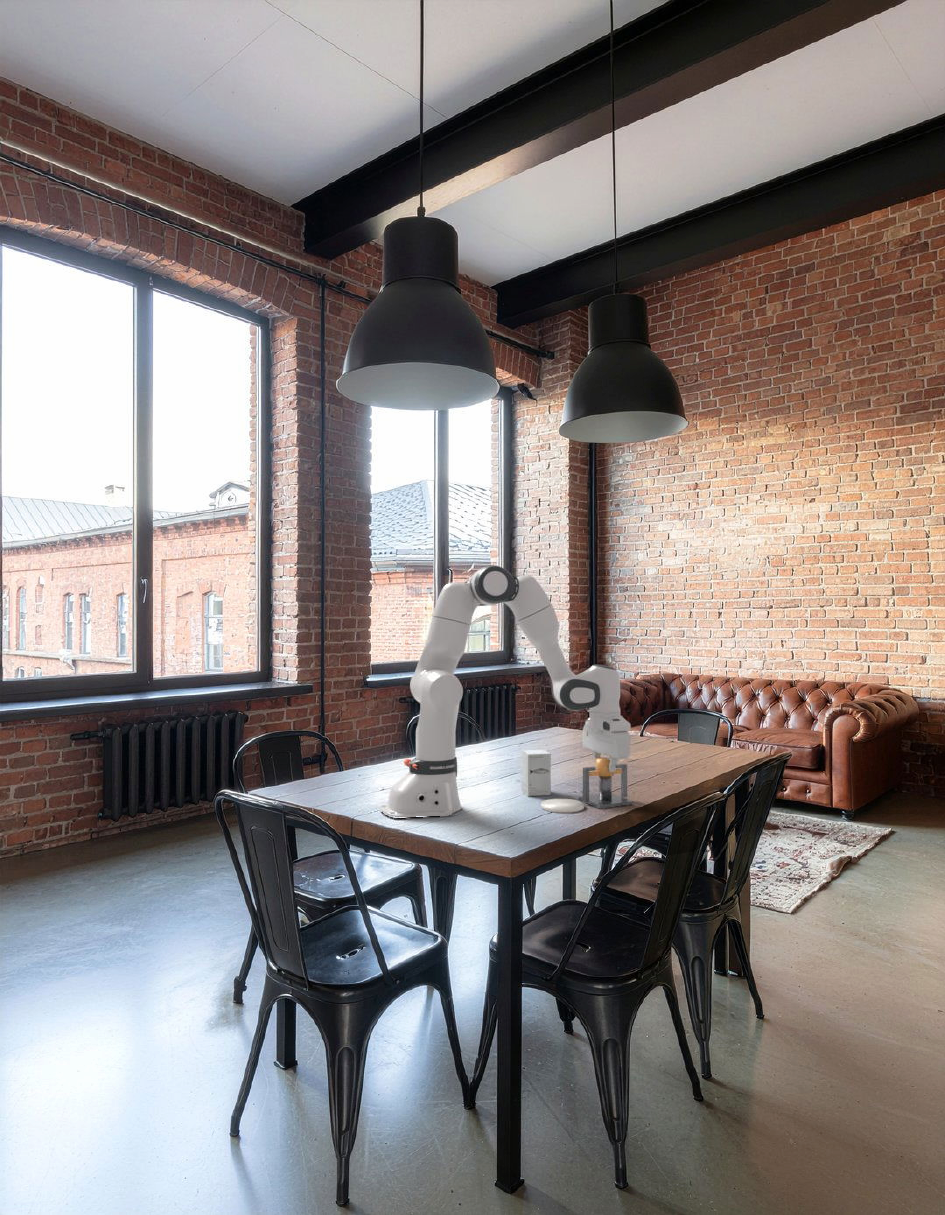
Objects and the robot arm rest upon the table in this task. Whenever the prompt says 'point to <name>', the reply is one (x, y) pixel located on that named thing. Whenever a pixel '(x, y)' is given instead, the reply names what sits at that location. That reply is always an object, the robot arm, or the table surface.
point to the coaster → (562, 805)
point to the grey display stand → (605, 790)
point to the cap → (603, 768)
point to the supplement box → (536, 772)
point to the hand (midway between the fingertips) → (605, 769)
